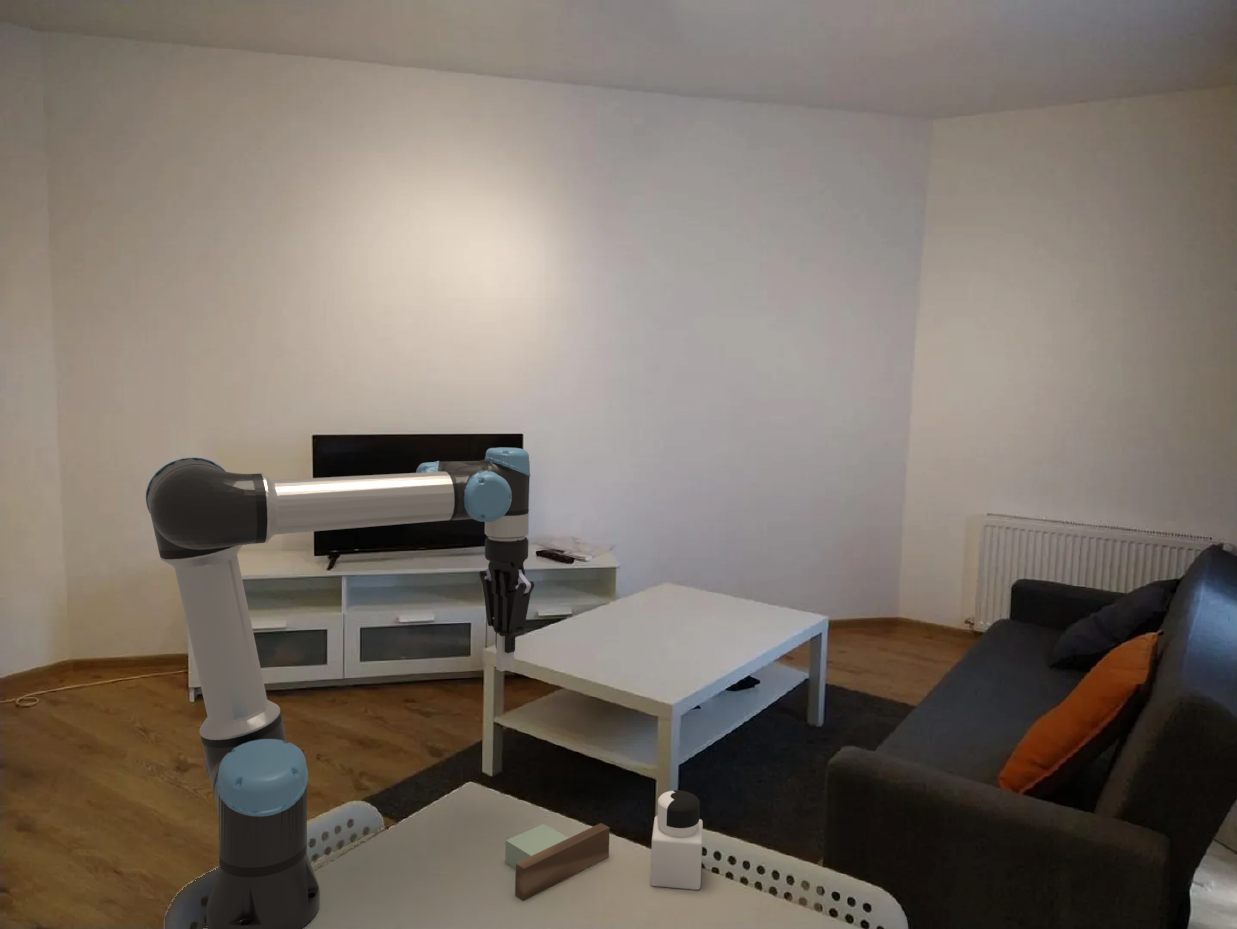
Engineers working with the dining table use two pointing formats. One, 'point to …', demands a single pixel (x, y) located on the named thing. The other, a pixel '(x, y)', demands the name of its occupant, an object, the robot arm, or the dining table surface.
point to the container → (677, 842)
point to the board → (561, 861)
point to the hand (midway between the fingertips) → (504, 668)
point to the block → (531, 843)
